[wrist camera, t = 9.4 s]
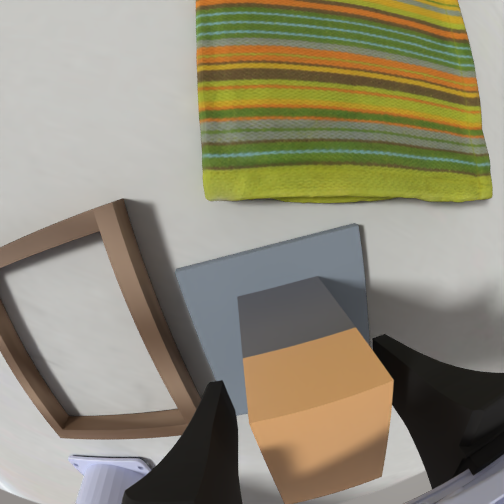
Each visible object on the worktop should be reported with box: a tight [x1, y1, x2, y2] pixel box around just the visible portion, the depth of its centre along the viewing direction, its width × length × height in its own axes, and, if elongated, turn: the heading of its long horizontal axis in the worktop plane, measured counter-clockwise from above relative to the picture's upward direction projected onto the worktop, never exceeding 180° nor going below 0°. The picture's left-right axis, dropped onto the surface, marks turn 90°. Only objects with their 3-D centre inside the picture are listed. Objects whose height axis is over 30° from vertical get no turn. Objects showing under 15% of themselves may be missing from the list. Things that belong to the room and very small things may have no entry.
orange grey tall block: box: [237, 276, 394, 504], centre depth 12 cm, size 6×4×8 cm, turn 13°
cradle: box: [0, 199, 201, 439], centre depth 15 cm, size 14×12×2 cm
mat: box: [175, 223, 370, 416], centre depth 16 cm, size 10×9×1 cm
